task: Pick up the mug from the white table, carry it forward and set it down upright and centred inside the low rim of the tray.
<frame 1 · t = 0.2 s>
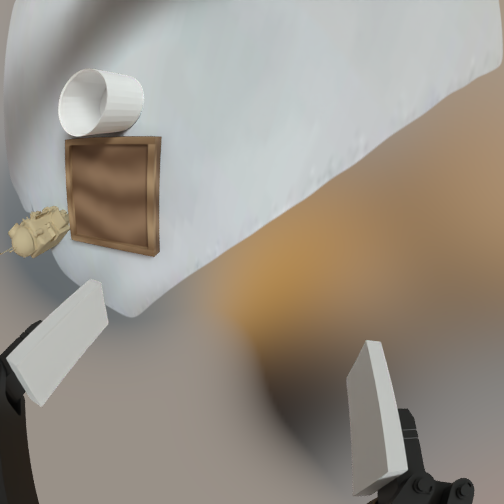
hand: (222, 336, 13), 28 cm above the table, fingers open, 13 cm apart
tray: (111, 191, 41), on the table
mug: (115, 99, 35), on the table
robot: (55, 219, 46), on the table
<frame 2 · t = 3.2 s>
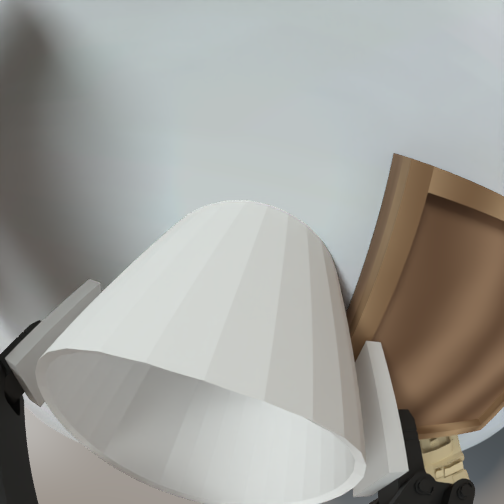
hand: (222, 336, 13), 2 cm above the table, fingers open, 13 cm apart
tray: (465, 341, 13), on the table
mug: (228, 304, 15), on the table
robot: (422, 448, 20), on the table
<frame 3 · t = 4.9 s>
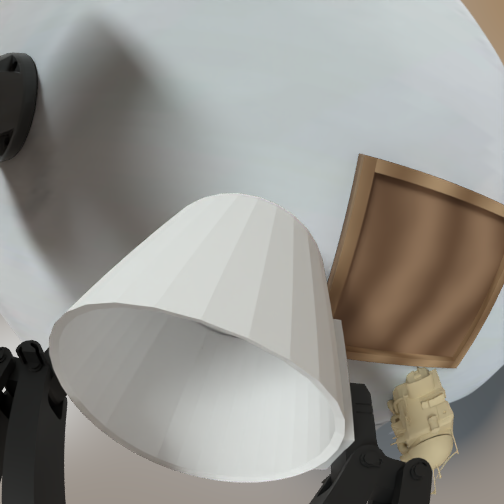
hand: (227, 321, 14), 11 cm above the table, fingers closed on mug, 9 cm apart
tray: (423, 277, 22), on the table
mug: (222, 290, 16), point 9 cm above the table, touching gripper
robot: (410, 391, 28), on the table
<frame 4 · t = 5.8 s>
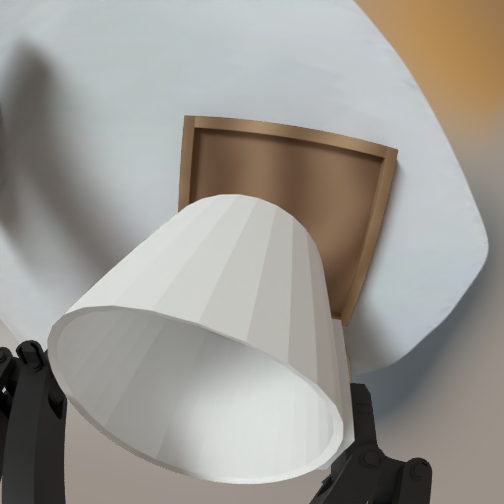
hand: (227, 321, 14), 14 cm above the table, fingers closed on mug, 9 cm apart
tray: (277, 222, 26), on the table
mug: (222, 291, 16), point 12 cm above the table, touching gripper
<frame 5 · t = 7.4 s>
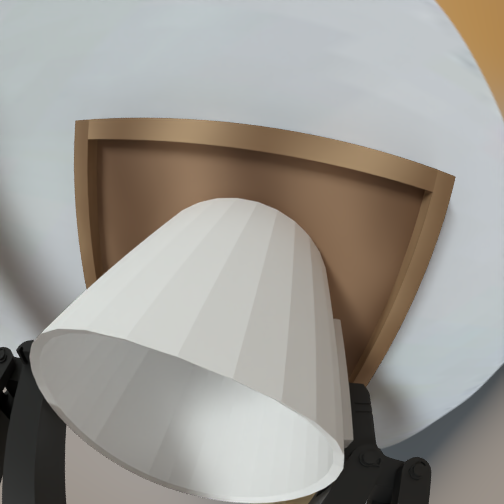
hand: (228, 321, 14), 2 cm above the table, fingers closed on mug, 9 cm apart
tray: (235, 293, 16), on the table
mug: (220, 300, 15), point 1 cm above the table, touching gripper, tray
when the fingers open (2 cm above the table, at t = 7.8 s): mug stays where it is, resting on tray.
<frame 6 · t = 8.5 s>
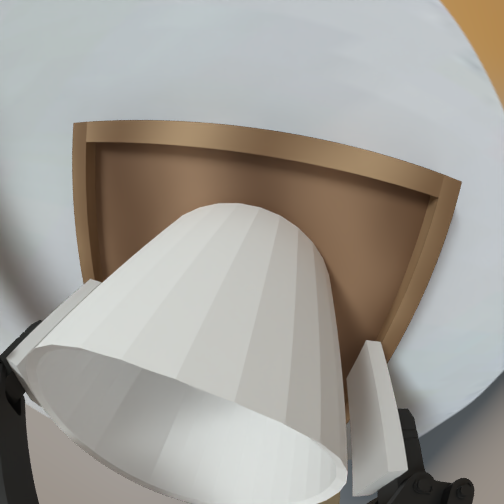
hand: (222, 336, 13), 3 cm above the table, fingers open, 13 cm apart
tray: (236, 299, 16), on the table
mug: (221, 306, 15), point 1 cm above the table, touching tray
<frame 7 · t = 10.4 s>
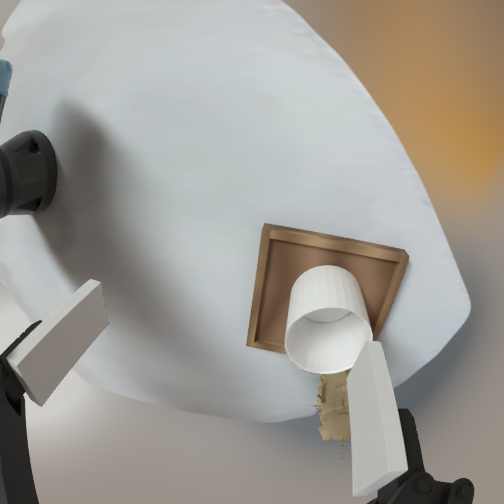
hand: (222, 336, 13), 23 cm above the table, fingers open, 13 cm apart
tray: (322, 299, 37), on the table
mug: (318, 302, 36), point 1 cm above the table, touching tray
robot: (336, 380, 43), on the table
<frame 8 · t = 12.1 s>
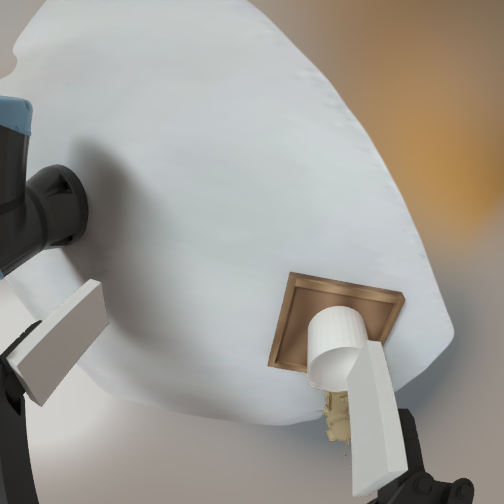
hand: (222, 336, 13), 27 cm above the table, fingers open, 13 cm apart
tray: (332, 329, 44), on the table
mug: (329, 332, 43), point 1 cm above the table, touching tray
robot: (339, 390, 50), on the table
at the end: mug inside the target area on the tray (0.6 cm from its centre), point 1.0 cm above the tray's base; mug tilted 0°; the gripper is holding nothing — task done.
